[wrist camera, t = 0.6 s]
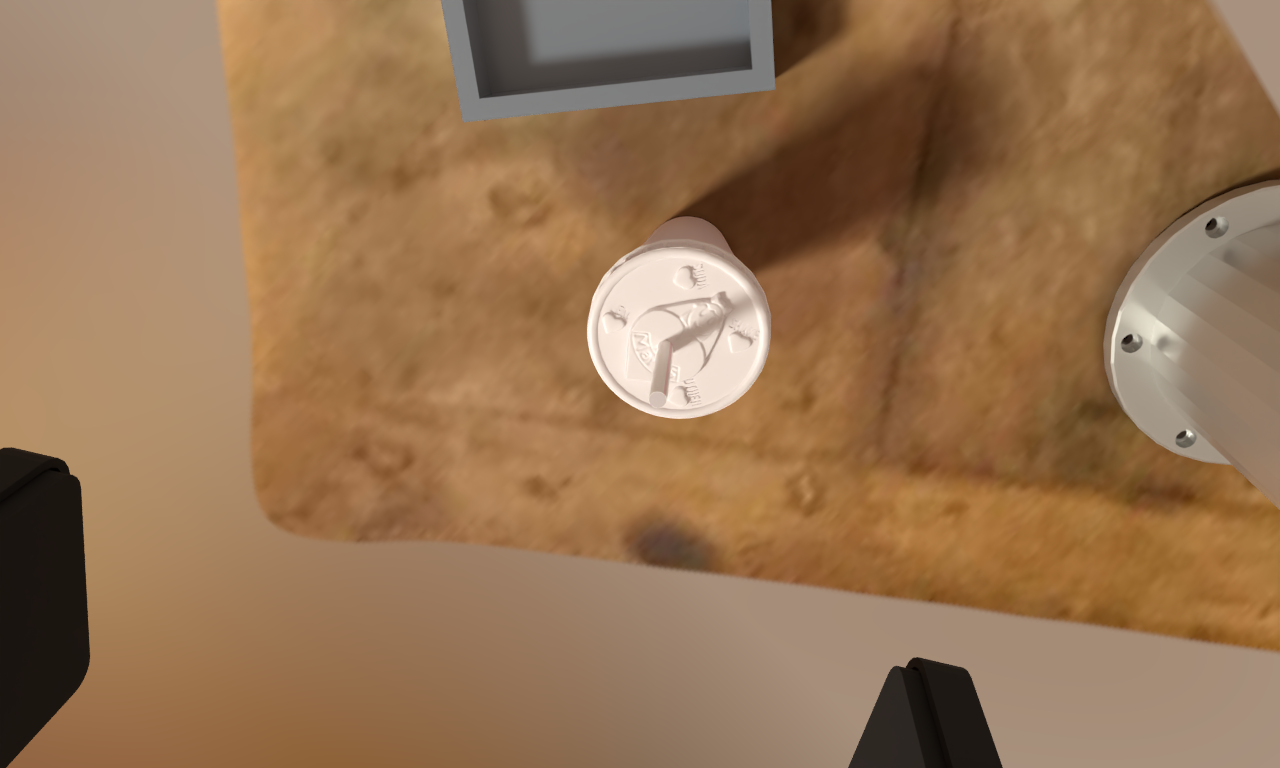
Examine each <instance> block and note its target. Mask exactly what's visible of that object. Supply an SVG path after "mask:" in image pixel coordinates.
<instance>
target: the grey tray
mask: <svg viewBox="0 0 1280 768" xmlns="http://www.w3.org/2000/svg"><path fill="white" fill-rule="evenodd" d="M441 3H442V9H443V14H444V20H445V25H446V31H447V36H448V42H449V47H450V53H451V58H452V64H453V69H454V75H455V80H456V86H457V91H458V97H459V102H460V108H461V113H462V119H463V122H470V121H480V120H489V119H499V118H508V117H518V116H528V115H537V114H547V113H556V112H566V111H576V110H585V109H595V108H604V107H614V106H623V105H633V104H643V103H652V102H662V101H671V100H681V99H691V98H700V97H710V96H719V95H729V94H739V93H748V92H758V91H767V90H775V72H774V51H773V30H772V9H771V0H441Z"/></svg>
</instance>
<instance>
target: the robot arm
mask: <svg viewBox="0 0 1280 768" xmlns="http://www.w3.org/2000/svg"><path fill="white" fill-rule="evenodd" d="M1211 219H1212V222H1211V224H1210V225H1209V226H1208V227H1206V225H1207V223H1208V222H1209V221H1210V220H1211ZM1205 227H1206V228H1205ZM1127 335H1129V336H1128V338H1127V339H1125V340H1123V341H1122V339H1123V338H1124V337H1126V336H1127ZM1103 346H1104V362H1105V370H1106V374H1107V377H1108V380H1109V384H1110V387H1111V390H1112V392H1113V394H1114V396H1115V397H1116V399H1117V401H1118V403H1119V404H1120V406H1121V408H1122V409H1123V411H1124V412H1125V413H1126V414H1127V415H1128V416H1129V418H1130V419H1131V420H1132V421H1133V422H1134V423H1135V424H1136V426H1137V427H1138V428H1139V429H1140V430H1142V431H1143V432H1144V433H1145V434H1146V435H1148V436H1149V437H1150V438H1151V439H1152V440H1154V441H1155V442H1156V443H1157V444H1159V445H1161V446H1163V447H1165V448H1166V449H1168V450H1170V451H1172V452H1174V453H1176V454H1178V455H1181V456H1185V457H1188V458H1192V459H1195V460H1199V461H1202V462H1207V463H1217V464H1226V465H1233V466H1234V467H1235V468H1236V469H1237V470H1238V471H1239V472H1240V473H1241V474H1243V475H1244V476H1245V477H1246V478H1247V479H1248V480H1249V481H1250V482H1251V483H1252V484H1253V485H1254V486H1255V487H1256V488H1257V489H1258V490H1259V491H1260V492H1262V493H1263V494H1264V495H1265V496H1266V497H1267V498H1268V499H1269V500H1270V501H1271V502H1272V503H1273V504H1274V505H1275V506H1276V507H1277V508H1278V509H1279V510H1280V179H1277V180H1268V181H1264V182H1260V183H1256V184H1252V185H1248V186H1244V187H1241V188H1237V189H1234V190H1232V191H1230V192H1227V193H1225V194H1223V195H1220V196H1218V197H1216V198H1214V199H1211V200H1209V201H1207V202H1205V203H1203V204H1202V205H1200V206H1198V207H1197V208H1195V209H1194V210H1192V211H1190V212H1189V213H1187V214H1186V215H1184V216H1183V217H1181V218H1179V219H1178V220H1176V221H1175V222H1174V223H1173V224H1172V225H1171V226H1169V227H1168V228H1167V229H1166V230H1165V231H1164V232H1163V233H1161V234H1160V235H1159V236H1158V237H1157V238H1156V239H1155V240H1153V241H1152V242H1151V244H1150V245H1149V246H1148V247H1147V248H1146V250H1145V251H1144V252H1143V253H1142V254H1141V255H1140V257H1139V258H1138V259H1137V260H1136V261H1135V263H1134V264H1133V265H1132V266H1131V268H1130V270H1129V272H1128V273H1127V275H1126V277H1125V278H1124V280H1123V282H1122V284H1121V285H1120V287H1119V289H1118V290H1117V292H1116V295H1115V298H1114V301H1113V303H1112V306H1111V309H1110V312H1109V314H1108V317H1107V323H1106V329H1105V336H1104V342H1103ZM89 660H90V648H89V630H88V611H87V592H86V573H85V554H84V535H83V516H82V497H81V486H80V482H79V480H78V478H77V477H75V476H73V475H70V472H69V468H68V466H67V465H66V463H65V461H63V460H61V459H59V458H54V457H51V456H46V455H42V454H38V453H33V452H29V451H25V450H20V449H16V448H2V449H0V768H6V767H7V766H8V765H9V764H10V763H11V761H13V759H14V758H15V757H16V756H17V755H18V754H19V753H20V752H21V751H22V750H23V749H24V747H25V746H26V745H27V744H28V743H29V742H30V741H31V740H32V739H33V737H35V735H36V734H37V733H38V732H39V731H40V730H41V729H42V728H43V727H44V725H45V724H46V723H47V722H48V721H49V720H50V719H51V718H52V717H53V716H54V715H55V714H56V713H57V711H58V710H59V709H60V708H61V707H62V706H63V705H64V704H65V703H66V701H67V700H68V699H69V698H70V697H71V696H72V695H73V694H74V693H75V692H76V690H77V689H78V688H79V686H80V685H81V683H82V681H83V680H84V677H85V675H86V673H87V670H88V666H89V662H90V661H89ZM848 768H1003V767H1002V765H1001V762H1000V759H999V756H998V753H997V750H996V747H995V744H994V742H993V739H992V736H991V733H990V730H989V727H988V725H987V722H986V719H985V716H984V713H983V710H982V707H981V704H980V701H979V699H978V696H977V693H976V690H975V687H974V685H973V681H972V678H971V677H970V674H969V673H968V671H967V670H966V669H964V668H962V667H957V666H953V665H949V664H944V663H940V662H936V661H931V660H927V659H923V658H918V657H917V658H912V660H910V661H909V663H908V665H907V666H906V668H904V667H899V666H894V667H893V668H892V669H891V670H890V672H889V674H888V676H887V678H886V681H885V683H884V686H883V688H882V690H881V692H880V695H879V697H878V700H877V702H876V704H875V706H874V709H873V711H872V714H871V716H870V718H869V720H868V723H867V725H866V728H865V730H864V732H863V735H862V737H861V739H860V741H859V744H858V746H857V748H856V751H855V753H854V755H853V758H852V760H851V762H850V765H849V767H848Z"/></svg>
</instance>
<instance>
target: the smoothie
mask: <svg viewBox="0 0 1280 768" xmlns="http://www.w3.org/2000/svg"><path fill="white" fill-rule="evenodd" d="M587 337H588V346H589V351H590V354H591V357H592V360H593V363H594V365H595V367H596V369H597V371H598V373H599V375H600V376H601V378H602V379H603V381H604V382H605V383H606V384H607V386H608V387H609V388H610V389H611V390H612V391H613V392H614V393H615V394H616V395H617V396H619V397H620V398H621V399H622V400H624V401H625V402H627V403H628V404H630V405H631V406H633V407H635V408H637V409H639V410H641V411H644V412H646V413H649V414H652V415H656V416H660V417H666V418H677V419H680V418H694V417H699V416H704V415H707V414H711V413H714V412H716V411H719V410H721V409H723V408H725V407H727V406H728V405H730V404H732V403H733V402H735V401H736V400H737V399H738V398H740V397H741V396H742V395H743V394H744V393H745V392H746V391H747V390H748V389H749V388H750V387H751V386H752V385H753V383H754V382H755V381H756V379H757V378H758V376H759V374H760V372H761V371H762V369H763V366H764V364H765V362H766V358H767V355H768V351H769V346H770V338H771V313H770V310H769V306H768V302H767V299H766V295H765V292H764V291H763V289H762V287H761V286H760V284H759V282H758V281H757V279H756V277H755V276H754V274H753V273H752V272H751V271H750V270H749V269H748V268H747V267H746V266H745V265H744V264H743V263H742V262H741V261H740V260H739V259H738V258H736V257H735V256H734V255H733V253H732V251H731V249H730V247H729V245H728V244H727V242H726V240H725V238H724V236H723V235H722V233H721V232H720V231H719V230H718V229H717V228H716V227H715V226H714V225H712V224H711V223H709V222H708V221H706V220H703V219H701V218H697V217H691V216H684V217H677V218H674V219H671V220H669V221H667V222H665V223H663V224H662V225H661V226H660V227H658V228H657V229H656V230H655V232H654V233H653V234H652V235H651V236H650V237H649V238H648V239H647V241H646V242H645V243H644V244H643V245H642V246H640V247H638V248H637V249H635V250H633V251H632V252H630V253H629V254H627V255H625V256H624V257H622V258H620V259H619V260H618V261H617V262H616V263H615V264H614V265H613V267H612V268H611V269H610V270H609V271H608V272H607V273H606V274H605V275H604V276H603V278H602V280H601V282H600V284H599V286H598V288H597V290H596V292H595V294H594V295H593V299H592V304H591V309H590V313H589V318H588V326H587Z"/></svg>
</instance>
